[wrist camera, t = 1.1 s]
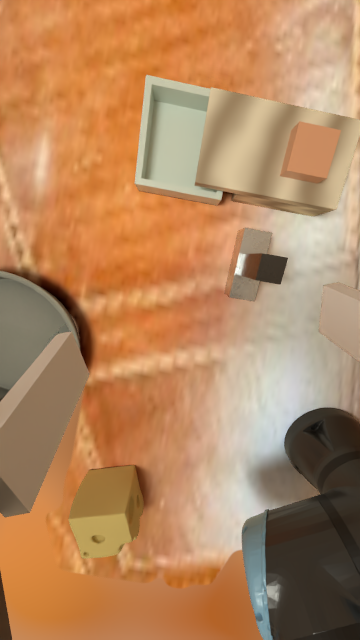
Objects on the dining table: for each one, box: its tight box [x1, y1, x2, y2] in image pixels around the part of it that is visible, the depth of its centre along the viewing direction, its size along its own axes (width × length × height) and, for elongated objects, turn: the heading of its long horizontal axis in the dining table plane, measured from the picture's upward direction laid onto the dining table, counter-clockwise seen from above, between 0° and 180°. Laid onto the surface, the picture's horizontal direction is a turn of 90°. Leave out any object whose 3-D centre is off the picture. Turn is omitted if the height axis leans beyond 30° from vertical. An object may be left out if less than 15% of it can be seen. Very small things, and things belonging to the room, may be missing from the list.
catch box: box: [135, 75, 223, 205], centre depth 32 cm, size 12×12×4 cm
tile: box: [280, 121, 341, 183], centre depth 28 cm, size 5×5×2 cm
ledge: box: [194, 87, 360, 216], centre depth 31 cm, size 19×10×6 cm, turn 80°
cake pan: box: [0, 271, 80, 399], centre depth 39 cm, size 25×25×4 cm
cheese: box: [69, 465, 144, 558], centre depth 45 cm, size 10×11×10 cm
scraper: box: [224, 228, 288, 301], centre depth 32 cm, size 4×10×12 cm, turn 170°
